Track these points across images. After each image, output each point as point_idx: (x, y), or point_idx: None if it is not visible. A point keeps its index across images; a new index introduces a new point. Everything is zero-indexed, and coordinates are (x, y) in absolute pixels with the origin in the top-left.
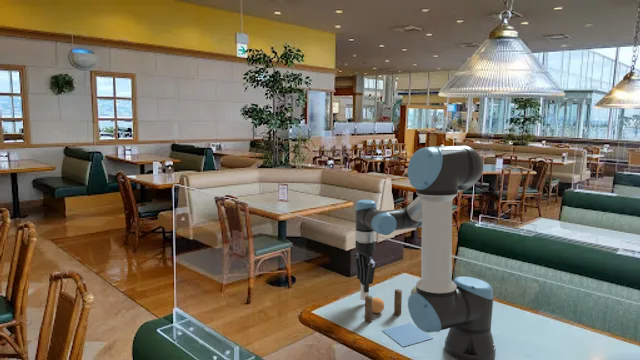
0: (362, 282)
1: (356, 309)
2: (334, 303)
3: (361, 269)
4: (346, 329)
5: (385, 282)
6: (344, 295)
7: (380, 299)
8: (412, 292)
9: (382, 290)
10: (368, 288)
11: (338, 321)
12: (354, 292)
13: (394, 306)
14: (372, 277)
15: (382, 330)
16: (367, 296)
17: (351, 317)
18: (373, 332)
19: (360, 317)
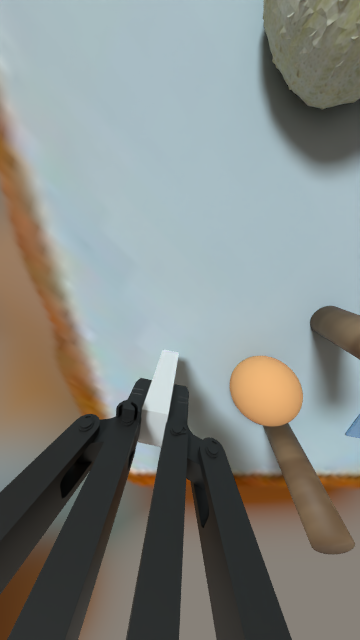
0: (139, 435)
1: (190, 398)
2: None
3: (83, 617)
4: (260, 476)
5: (6, 57)
6: (78, 360)
7: (293, 404)
8: (324, 60)
9: (104, 185)
10: (187, 405)
11: None
12: (69, 316)
13: (342, 348)
14: (247, 534)
15: (349, 435)
16: (319, 542)
17: (220, 436)
18: (328, 451)
19: (239, 421)
